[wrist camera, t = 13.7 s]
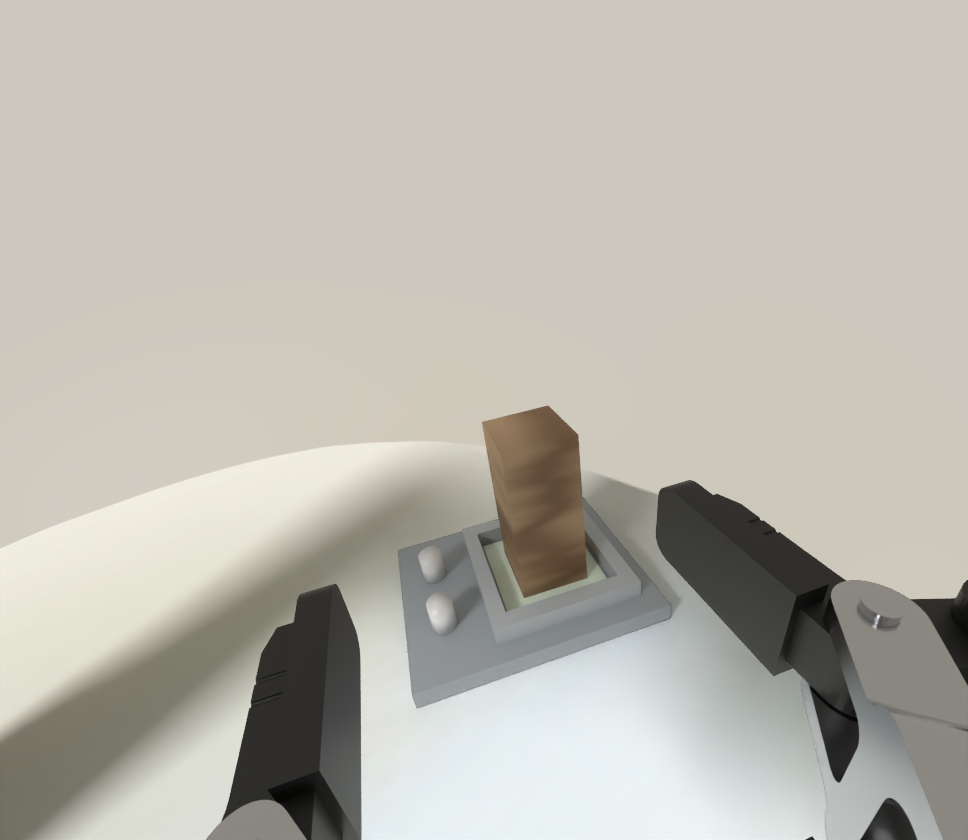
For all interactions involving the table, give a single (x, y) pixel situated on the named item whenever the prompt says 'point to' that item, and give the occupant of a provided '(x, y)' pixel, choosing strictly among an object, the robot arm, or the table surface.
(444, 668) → the housing
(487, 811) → the table surface
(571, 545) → the block
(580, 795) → the table surface
